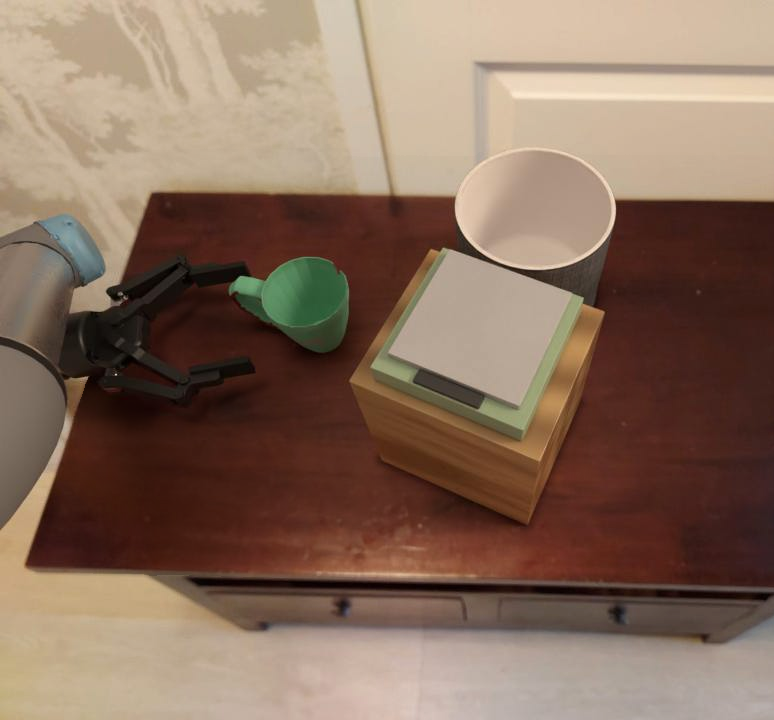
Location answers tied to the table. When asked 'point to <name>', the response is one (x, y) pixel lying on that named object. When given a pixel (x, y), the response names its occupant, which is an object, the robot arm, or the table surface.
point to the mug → (299, 301)
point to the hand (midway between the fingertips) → (250, 315)
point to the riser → (475, 424)
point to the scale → (479, 342)
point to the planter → (538, 217)
